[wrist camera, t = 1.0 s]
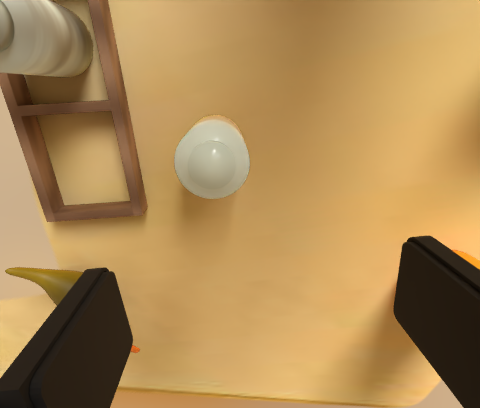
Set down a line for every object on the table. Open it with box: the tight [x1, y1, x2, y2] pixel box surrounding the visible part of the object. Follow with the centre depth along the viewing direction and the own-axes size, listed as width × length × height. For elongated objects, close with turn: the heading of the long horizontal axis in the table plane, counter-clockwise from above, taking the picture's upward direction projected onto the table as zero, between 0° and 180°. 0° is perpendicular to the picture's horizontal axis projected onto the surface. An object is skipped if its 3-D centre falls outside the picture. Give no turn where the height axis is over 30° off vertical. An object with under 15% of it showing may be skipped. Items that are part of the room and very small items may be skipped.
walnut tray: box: [0, 0, 147, 222], centre depth 21 cm, size 20×9×9 cm, turn 3°
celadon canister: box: [174, 115, 250, 199], centre depth 23 cm, size 5×5×9 cm
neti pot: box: [5, 267, 140, 353], centre depth 29 cm, size 4×15×6 cm, turn 48°
